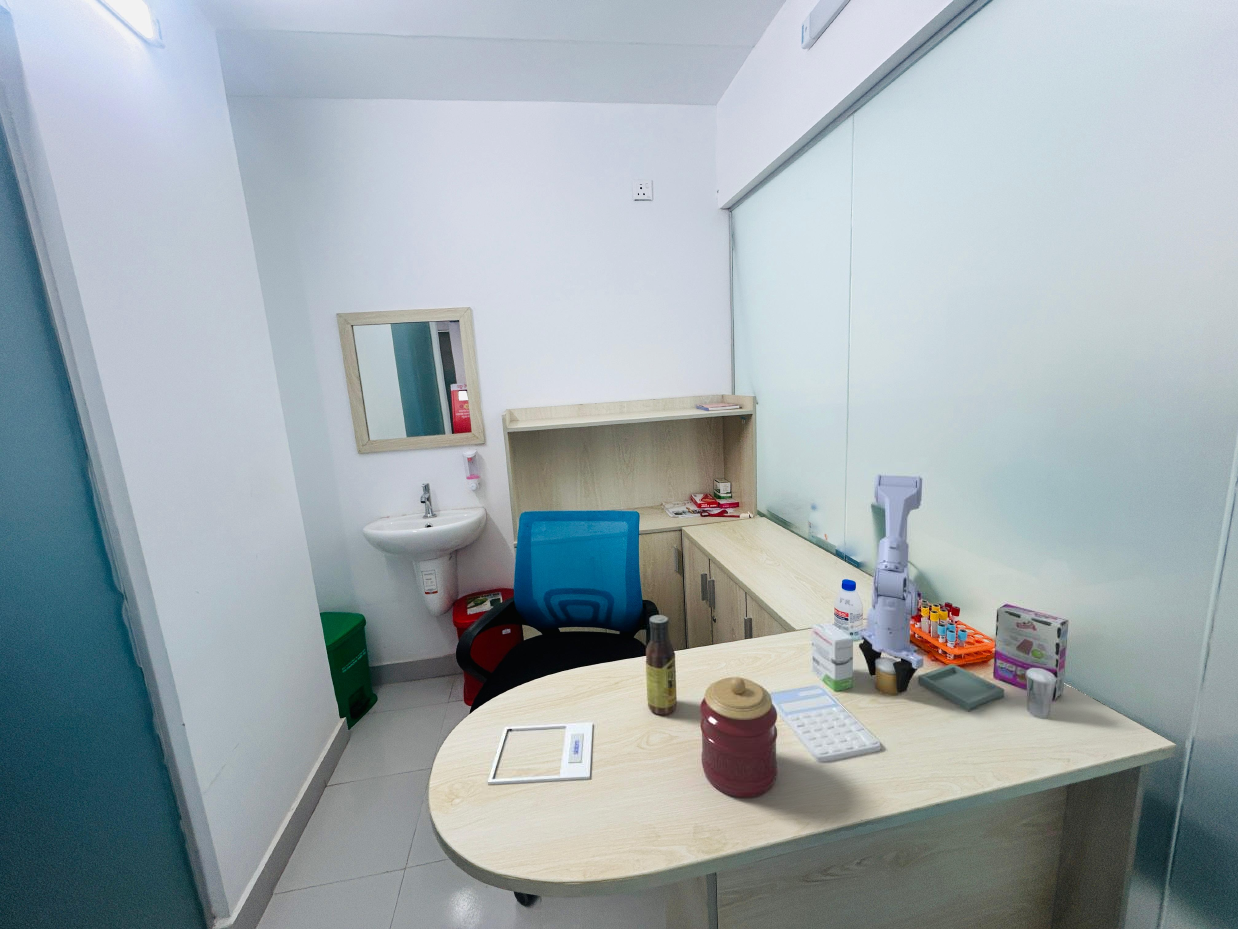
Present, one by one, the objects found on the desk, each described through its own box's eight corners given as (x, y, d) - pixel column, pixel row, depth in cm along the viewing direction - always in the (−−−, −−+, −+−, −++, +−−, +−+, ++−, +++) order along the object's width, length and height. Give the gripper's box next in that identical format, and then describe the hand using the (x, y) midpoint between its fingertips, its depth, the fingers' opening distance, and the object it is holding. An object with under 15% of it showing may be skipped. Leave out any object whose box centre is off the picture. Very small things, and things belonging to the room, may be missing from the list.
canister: (702, 797, 84) (699, 700, 81) (700, 743, 96) (698, 657, 94) (783, 803, 82) (783, 703, 79) (771, 746, 95) (770, 659, 92)
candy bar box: (1063, 693, 106) (1070, 619, 103) (1055, 702, 103) (1061, 627, 101) (1001, 670, 115) (1005, 602, 113) (991, 677, 112) (996, 608, 110)
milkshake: (1059, 725, 96) (1063, 677, 95) (1023, 715, 100) (1027, 668, 98) (1057, 712, 100) (1061, 666, 98) (1023, 703, 103) (1026, 658, 102)
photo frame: (589, 775, 89) (487, 781, 89) (589, 781, 89) (487, 786, 89) (592, 721, 103) (504, 726, 103) (592, 726, 103) (505, 731, 103)
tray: (918, 683, 112) (918, 675, 111) (952, 670, 116) (952, 663, 115) (968, 711, 102) (968, 703, 101) (1003, 697, 106) (1004, 689, 105)
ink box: (853, 688, 111) (854, 638, 109) (834, 692, 110) (835, 641, 108) (828, 667, 119) (829, 620, 118) (810, 671, 118) (810, 624, 117)
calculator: (817, 766, 90) (818, 756, 90) (764, 699, 109) (764, 691, 109) (883, 752, 92) (884, 743, 92) (820, 690, 112) (820, 682, 112)
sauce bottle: (675, 717, 104) (672, 627, 101) (645, 715, 105) (641, 626, 102) (678, 698, 110) (675, 613, 107) (650, 696, 112) (646, 611, 109)
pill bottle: (869, 685, 112) (870, 660, 111) (886, 680, 114) (886, 655, 113) (889, 698, 107) (889, 672, 106) (905, 691, 109) (906, 666, 108)
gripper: (848, 614, 113) (847, 670, 115) (906, 643, 100) (904, 706, 102) (871, 608, 116) (870, 663, 118) (931, 635, 102) (928, 697, 105)
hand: (887, 682), depth 110 cm, fingers open, 6 cm apart
